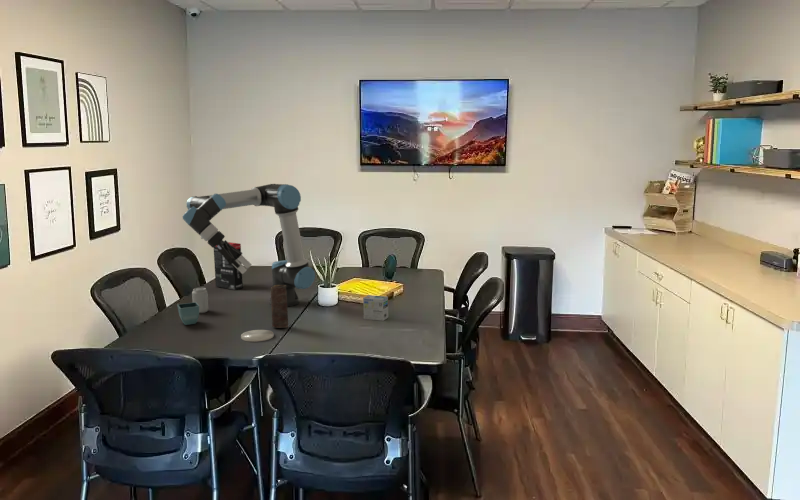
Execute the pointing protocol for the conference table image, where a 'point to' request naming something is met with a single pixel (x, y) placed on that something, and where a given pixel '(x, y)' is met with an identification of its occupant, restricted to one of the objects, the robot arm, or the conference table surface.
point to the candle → (279, 306)
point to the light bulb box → (375, 307)
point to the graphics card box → (227, 271)
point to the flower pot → (188, 312)
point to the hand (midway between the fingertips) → (247, 269)
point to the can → (201, 299)
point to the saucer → (257, 335)
